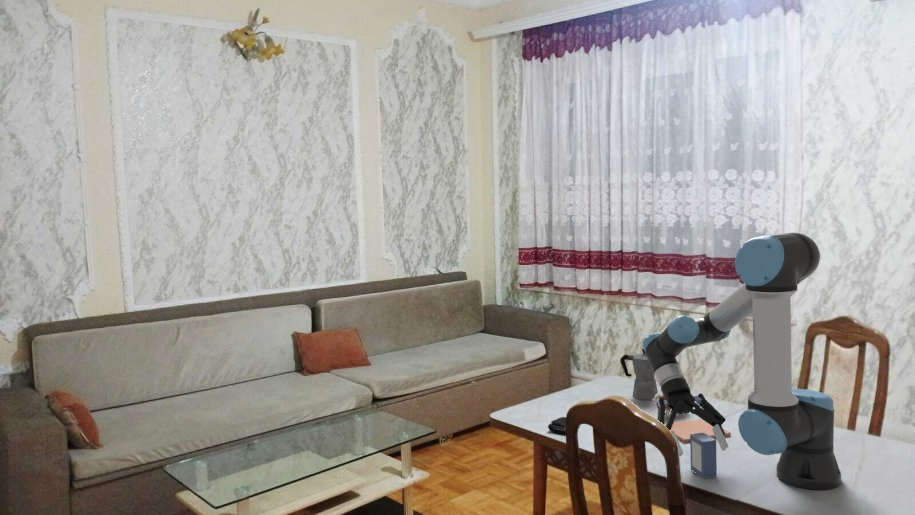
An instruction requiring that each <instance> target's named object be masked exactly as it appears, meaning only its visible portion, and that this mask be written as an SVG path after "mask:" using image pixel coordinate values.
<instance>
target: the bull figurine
mask: <svg viewBox="0 0 915 515" xmlns="http://www.w3.org/2000/svg"><path fill="white" fill-rule="evenodd" d="M660 398H662V399H663V400H666V399H665V398H664V396H663V393H660V392H658V393H657V394H656V395H655V397H654V398H653V399H652V400H651V401H652V402H653V403H655V402H656V403H657V402H658V401H659V399H660ZM671 410H672V409H671V408H670V407H668V406H667V405H666V407H665V418H667V417H669V416H670V412H671ZM684 414H685V415H687V414H688V413H684Z"/></svg>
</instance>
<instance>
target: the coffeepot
mask: <svg viewBox="0 0 915 515" xmlns="http://www.w3.org/2000/svg"><path fill="white" fill-rule="evenodd" d="M641 351H642V352H641V353H636V354H624V355H622V357H620V360H619V361H620V362H619V363H620V364H621V368H622V370H623V372H624V375H625V376H626V377H629V378H630V377H632V375H633V374H632V373H629V370H628V366H627V362H626V360H627V361H631V362H632V366H633V371H634V372H633V373H634V374H635V379H634V384H633V392H632V396H633V397H634V398H635V399H638V400H642V401H644V400H645V401H650V400H651V401H652V399H653V398H654V397H655V395H656V394H657V393H659V391H658V385H657V379H656V377H655V374H654V372H653V370H652V368H651V365H650V363H649V361H648V358H647V357H646V355H645V351H644V348H642V350H641Z"/></svg>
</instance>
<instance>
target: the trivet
mask: <svg viewBox="0 0 915 515" xmlns="http://www.w3.org/2000/svg"><path fill="white" fill-rule="evenodd" d="M664 424H665V425H666V424H667V423H664ZM712 429H713V426H711V425H710V424H709V423H707V422H706V421H704V420H703V419H701V418H700V419H698V418H697V419H693V420H692V419H691V420H685V421H678V422H674V423H673V425H672V428H671V431H674V432H675V434H676V436H677V438H678V440H679V439H680V440H679V441H680V442H682V443H684V444H685V443H690V434H697V433H705V434H707V435H708V436H710V437H712V438H714V439H716V437H715V434H714V432H713V430H712ZM723 430H724V432H725V436H724V437H725V438H726V437H731V436H732V434H731V432H730V431H728V430H726V429H724V428H723Z"/></svg>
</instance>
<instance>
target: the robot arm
mask: <svg viewBox="0 0 915 515" xmlns="http://www.w3.org/2000/svg"><path fill="white" fill-rule="evenodd" d="M820 259H821V254H820V249H819V246H818V245H817V244H816V242H815V241H814V240H813V239H812V238H810V237H809V236H808V235H806V234H803V233H799V232H787V233H779V234H769V235H768V234H766V235H760V236H758V237H757V236H756V237H752V238H750V239H748V240H746V241H745V242H744V243H743V244H742V245H740V247H739V249H738V250H737V252H736V255H735V262H734V263H735V264H734V267H735V272H736V274H737V276H738V277H739V279H740V280H741V282H743V284H742V285H740V286H739V287H738V288H737V289H736V290H735V291H733V292H732V293H731V294H730V295H728V296H727V297H726V298H725V299H723V300H722V301H721V302H720V303H718V304H717V305H716V306H715V307H714V308H712V309H711V310H710V311H709V312H708V313H706V314H705V315H704V316H702V317H698V318H693V317H691V316H687V315H683V314H681V315H679V316H677V317H676V318H675V319H673V320H672V321H671V322H670V323H669V324H668V326H667V327H666V328H665V329H664V330H663V331H662V332H653V333H651V334H649V336H645V338H644V339H643V340H642V342H641V343H642V349H644V351H645V355H646V357H647V358H648V361H649V363H650V365H651V368H652V370H653V372H654V374H655V375H654V376H655V380H656V382H657V383H658V385H659V387H660V392H661V394H663V396H664V398H665V399H666V400H663V399H662V398H660V399H659V401H658V402H656V406H657V420H659V421H660V422H662V423H663V424H666V427H667V428H668V429H669V430H671V428H672V425H673V423H675V420H676V418H677V414H678V415H682V414H685V413H687V414H692V415H695V416H697V417H698V418H700V419H703V420H704V421H706V422H707V423H709V424H710V425H711V426H713V429H712V430H713V432H714V434H715V437H716V438H715V440H716V442H717V443H718V446H719V448H720V450H721V451H722V452H724V451H726V450H727V449H728V448H729V445H728V442H727V440H726V437H724V436H725V432H724V430H723V429H724V428H723V426H722V425H724V423H725V422H726V418H725V416H723V415H722V414H721V412H719V411H718V410H717V409H716V408H715V407H714V406H713V405H712V404H711V403H710V402H709V401H708V400H706V397H705V396H704V394H703V393H699V394H698V395H693V394H692V392H691V389H690V386H689V384H688V381H687V380H686V378H685V375H684V373H683V371H682V369H681V367H680V364H679V363H678V360H677V358H676V357H677V356H679V355H680V353H682V352H683V351H684V350H685V349H686V348H690V347H695V346H699V345H705V344H708V343H717V342H720V341H722V340H724V339H726V338H728V337H729V336H730V333H731V330H732V329H734V328H735V327H736V326H737V325H739V324H740V323H741V322H742V321H744V320H745V319H747V318H748V317H749V316H751V315H752V336H753V337H752V342H753V345H752V346H753V347H752V349H753V352H752V353H753V391H752V392H751V393H749V394H748V395H747V409H745V410H744V411H743V412H742V413H741V414H740V416H739V418H738V423H737V425H738V430H739V433H740V434H739V435H741V438H742V440H743V441H744V442H746V443H747V446H748V447H749V448H750V449H751V450H753V451H754V452H755V453H757V454H760V455H765V456H771V455H778V454H780V457H779V460H778V462H777V463H776V468H775V469H776V472H775V473H776V476H777V478H778V479H779V480H781V481H782V482H784V483H785V484H788V485H790V486H794V487H797V488H800V489H801V488H802V489H807V490H816V491H819V490H820V491H821V490H823V491H825V490H831V489H835V488H838V487H839V486H841V484H842V473H841V470H840V467H839V464H838V461H837V457H836V455H835V453H834V439H835V438H834V432H835V430H834V427H835V426H834V425H835V423H834V422H835V409H834V408H835V406H834V400H833V397H831V396H830V395H828V394H826V393H824V392H820V391H817V390H811V389H805V388H804V389H803V388H793V387H792V386H793V383H792V382H793V381H792V380H793V379H792V377H793V376H792V371H793V370H792V313H791V312H792V310H791V307H792V306H791V305H792V304H791V303H792V300H791V298H792V296H794V295H795V293H797V292H798V285H799V284H801V283H802V282H803V281H804V280H805V279H807V278H808V277H809V276H811V275H812V274H813V273H814V272H815V271H816V270H817V269H818V266H819V264H820V261H821V260H820ZM666 405H667V406H668V407H670V408H671V410H670V413H669V415H670V416H669V418H668V419H667V422H666V423H665V418H666V415H665V413H666V410H665V407H666ZM671 432H672V434H673V435H674V437H675V439H676V442H677V444H678V449H679V456H680V457H682V455H683V454H684V451H683V448H682V446H681V444H680V440H679V439H677V436H676V434H675V432H674V431H671Z"/></svg>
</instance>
